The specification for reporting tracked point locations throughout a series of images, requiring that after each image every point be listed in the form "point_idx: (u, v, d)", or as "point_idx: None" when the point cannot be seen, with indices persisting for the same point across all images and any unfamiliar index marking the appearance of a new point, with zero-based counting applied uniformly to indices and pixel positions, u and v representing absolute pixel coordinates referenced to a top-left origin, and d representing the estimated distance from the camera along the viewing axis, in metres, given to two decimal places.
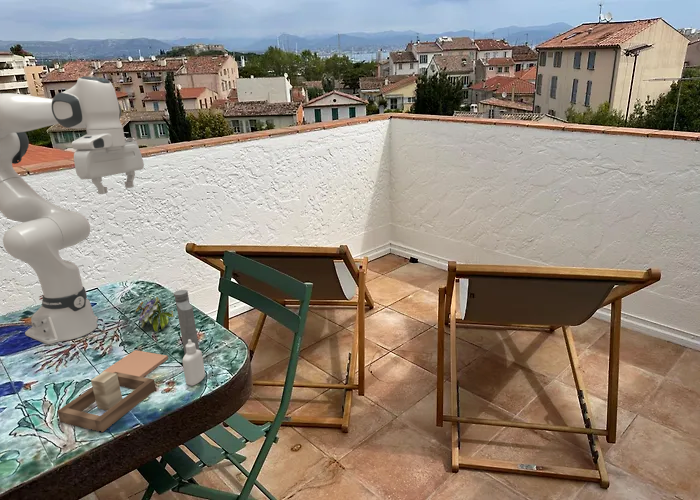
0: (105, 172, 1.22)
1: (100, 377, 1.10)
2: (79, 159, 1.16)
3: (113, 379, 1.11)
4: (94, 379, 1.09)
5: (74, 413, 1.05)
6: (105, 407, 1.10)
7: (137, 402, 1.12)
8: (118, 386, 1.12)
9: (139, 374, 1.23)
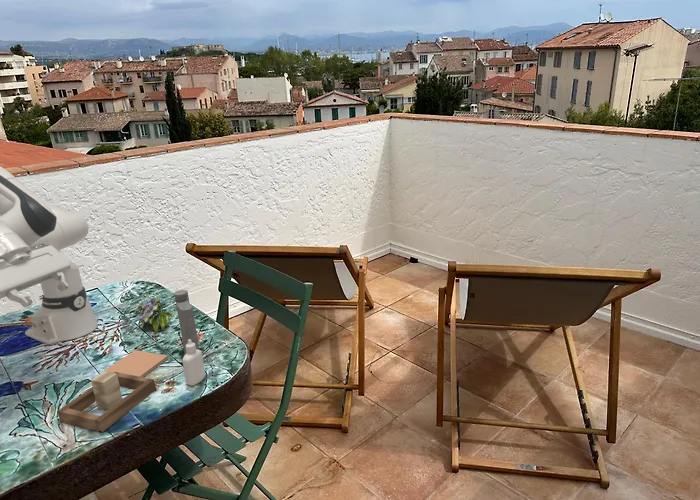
0: (16, 281, 1.04)
1: (100, 377, 1.10)
2: None
3: (113, 379, 1.11)
4: (94, 379, 1.09)
5: (74, 413, 1.05)
6: (105, 407, 1.10)
7: (137, 402, 1.12)
8: (118, 386, 1.12)
9: (139, 374, 1.23)
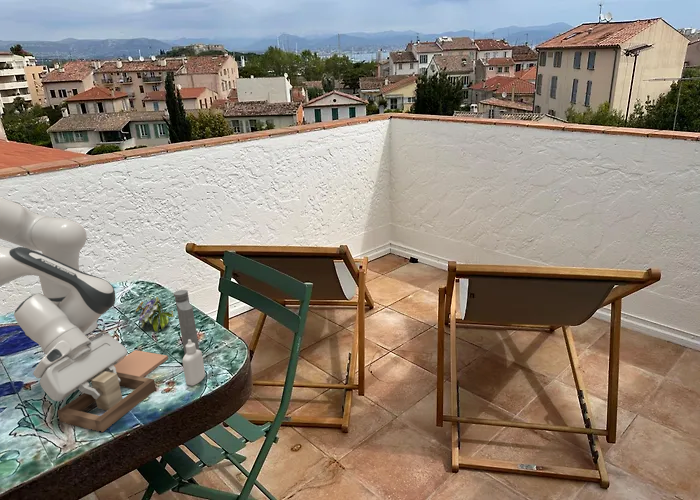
0: (80, 379, 1.07)
1: (100, 377, 1.10)
2: (44, 383, 1.03)
3: (113, 379, 1.10)
4: (94, 379, 1.09)
5: (74, 413, 1.05)
6: (105, 407, 1.10)
7: (137, 402, 1.12)
8: (118, 386, 1.12)
9: (139, 374, 1.23)
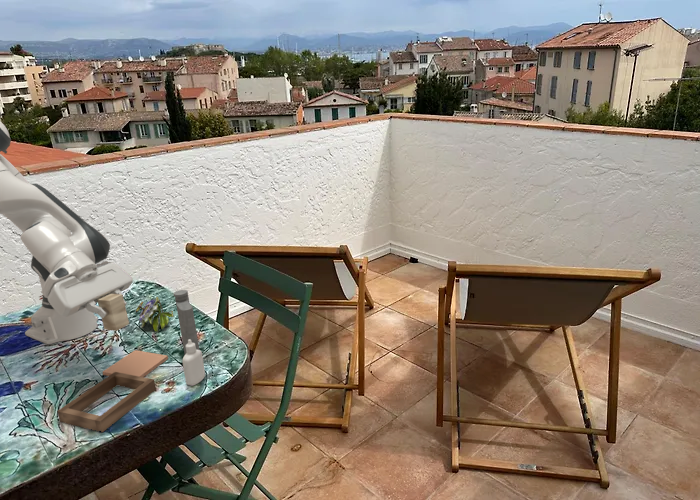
0: (87, 296, 1.09)
1: (106, 297, 1.12)
2: (52, 298, 1.05)
3: (119, 299, 1.13)
4: (100, 299, 1.12)
5: (74, 413, 1.05)
6: (111, 327, 1.12)
7: (137, 402, 1.12)
8: (124, 307, 1.14)
9: (139, 374, 1.23)
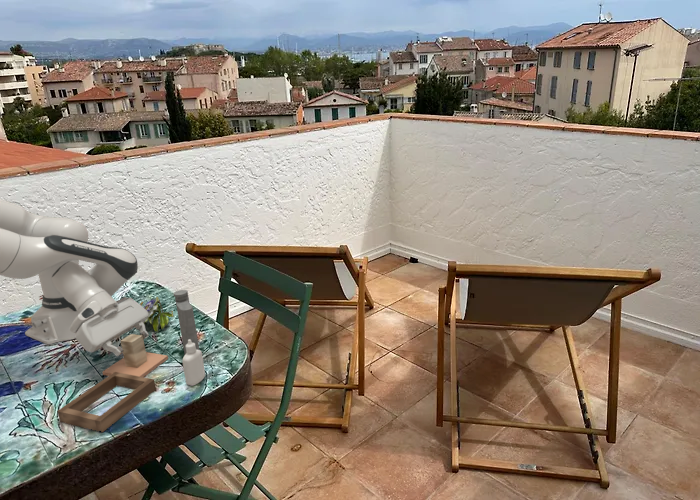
0: (110, 334, 1.22)
1: (128, 338, 1.27)
2: (80, 336, 1.19)
3: (139, 340, 1.27)
4: (123, 340, 1.26)
5: (74, 413, 1.05)
6: (132, 364, 1.27)
7: (137, 402, 1.12)
8: (143, 347, 1.28)
9: (139, 374, 1.23)
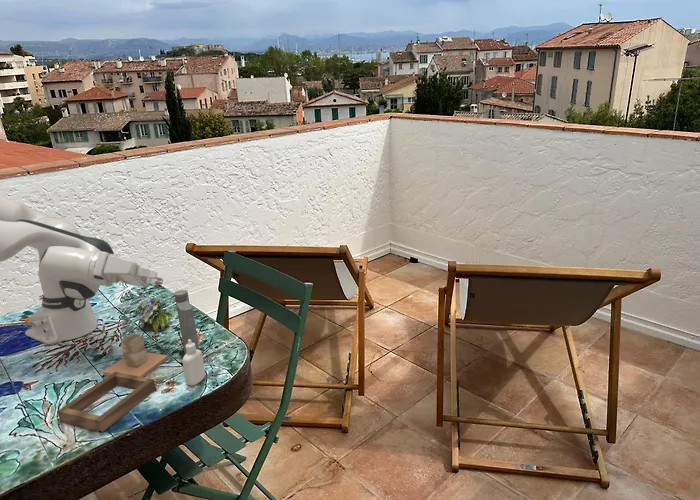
0: None
1: (128, 338, 1.27)
2: (112, 265, 1.15)
3: (139, 340, 1.27)
4: (123, 340, 1.26)
5: (74, 413, 1.05)
6: (132, 364, 1.27)
7: (137, 402, 1.12)
8: (143, 347, 1.28)
9: (139, 374, 1.23)
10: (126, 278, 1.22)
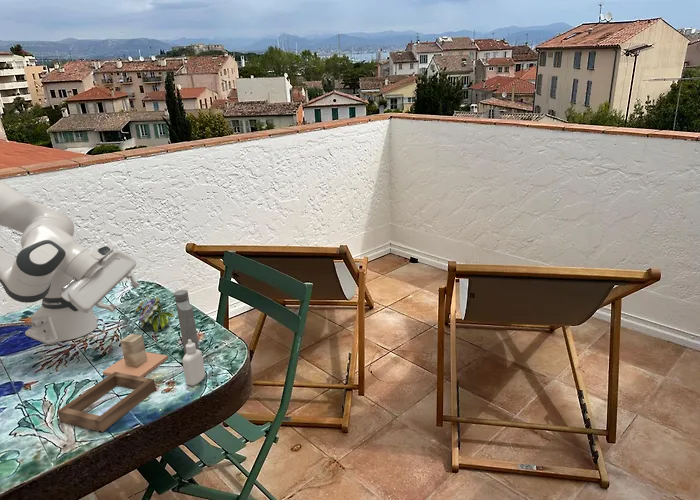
0: None
1: (128, 338, 1.27)
2: None
3: (139, 340, 1.27)
4: (123, 340, 1.26)
5: (74, 413, 1.05)
6: (132, 364, 1.27)
7: (137, 402, 1.12)
8: (143, 347, 1.28)
9: (139, 374, 1.23)
10: (110, 273, 1.30)
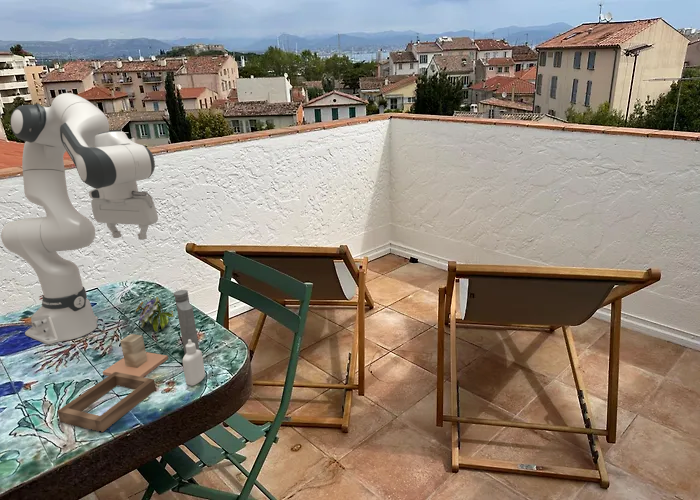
0: (109, 220, 1.30)
1: (128, 338, 1.27)
2: None
3: (139, 340, 1.27)
4: (123, 340, 1.26)
5: (74, 413, 1.05)
6: (132, 364, 1.27)
7: (137, 402, 1.12)
8: (143, 347, 1.28)
9: (139, 374, 1.23)
10: None
